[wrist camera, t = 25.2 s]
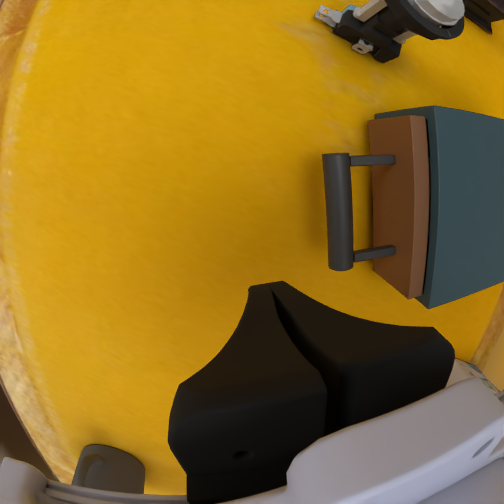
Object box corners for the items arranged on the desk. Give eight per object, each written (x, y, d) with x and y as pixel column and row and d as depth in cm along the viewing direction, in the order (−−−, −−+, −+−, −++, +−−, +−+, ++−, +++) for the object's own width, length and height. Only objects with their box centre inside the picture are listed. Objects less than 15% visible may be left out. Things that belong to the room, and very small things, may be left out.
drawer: (315, 280, 22) (342, 316, 17) (303, 121, 18) (333, 112, 13) (479, 245, 23) (516, 264, 18) (482, 130, 19) (523, 133, 14)
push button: (303, 41, 17) (365, -25, 8) (322, -7, 16) (381, -74, 6) (381, 80, 18) (473, 53, 9) (394, 31, 17) (475, -6, 8)
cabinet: (379, 270, 23) (428, 309, 17) (374, 114, 19) (433, 105, 13) (485, 245, 24) (532, 269, 18) (488, 126, 20) (541, 130, 14)
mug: (151, 480, 31) (146, 549, 19) (93, 470, 29) (79, 534, 18) (131, 428, 26) (115, 519, 15) (61, 415, 25) (31, 493, 14)
